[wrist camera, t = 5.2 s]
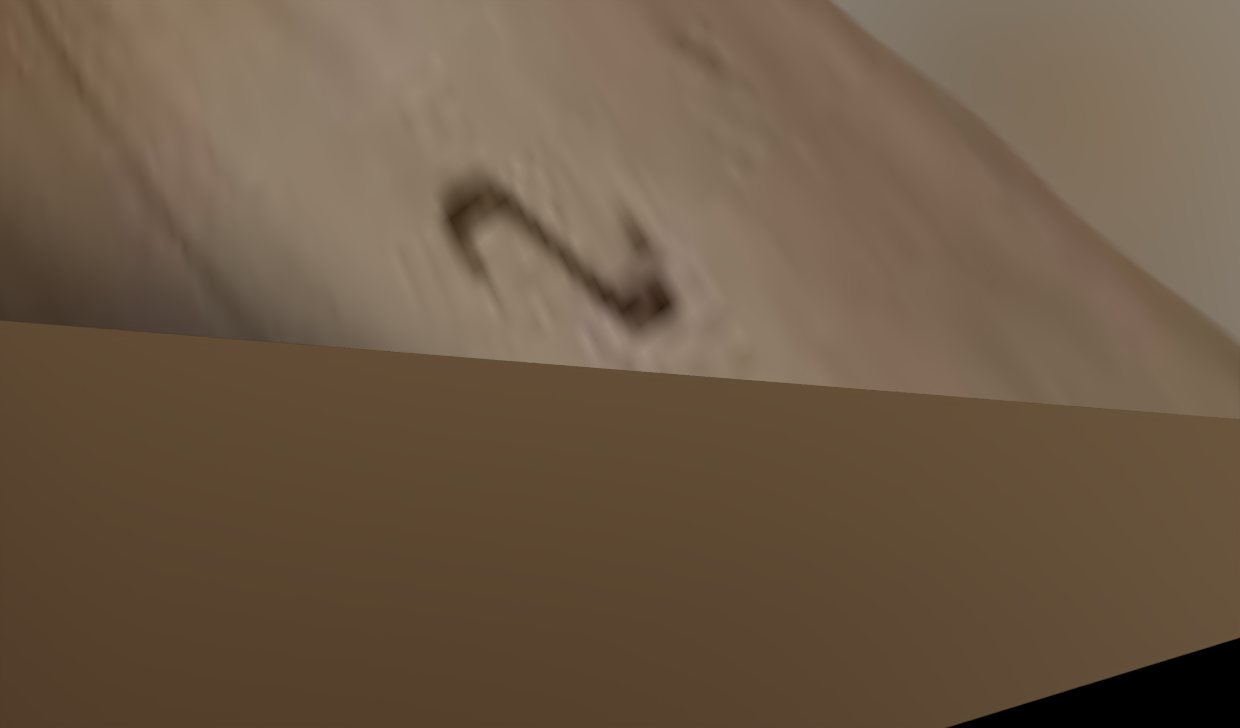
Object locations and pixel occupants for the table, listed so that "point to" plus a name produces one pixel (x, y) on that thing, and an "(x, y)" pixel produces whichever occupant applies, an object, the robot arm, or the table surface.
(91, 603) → the walnut block
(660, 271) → the table surface
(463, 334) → the table surface
